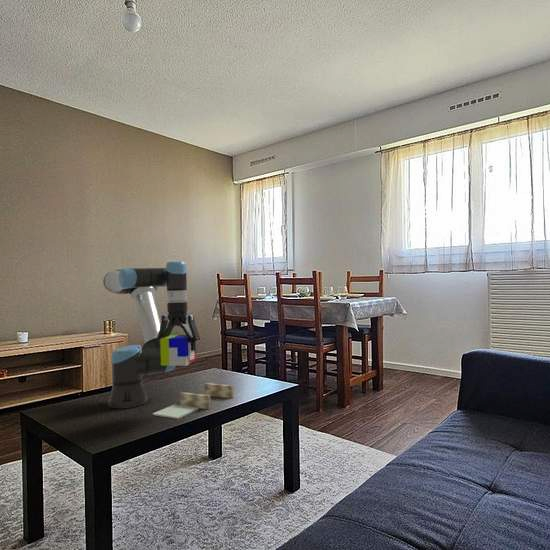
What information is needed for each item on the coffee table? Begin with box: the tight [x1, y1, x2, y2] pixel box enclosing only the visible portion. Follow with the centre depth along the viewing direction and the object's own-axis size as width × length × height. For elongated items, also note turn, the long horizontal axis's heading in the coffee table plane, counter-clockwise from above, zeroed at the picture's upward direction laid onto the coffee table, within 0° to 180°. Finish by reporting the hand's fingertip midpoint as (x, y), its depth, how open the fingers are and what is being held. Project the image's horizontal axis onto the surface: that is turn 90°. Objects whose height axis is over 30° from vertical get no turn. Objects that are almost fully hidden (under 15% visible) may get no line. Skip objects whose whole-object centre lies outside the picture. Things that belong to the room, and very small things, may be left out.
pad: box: [152, 404, 199, 420], centre depth 157 cm, size 12×12×1 cm
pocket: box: [179, 382, 234, 410], centre depth 170 cm, size 14×17×5 cm
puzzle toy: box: [160, 334, 197, 367], centre depth 160 cm, size 10×10×10 cm
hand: (178, 358), depth 160 cm, fingers closed on puzzle toy, 11 cm apart
